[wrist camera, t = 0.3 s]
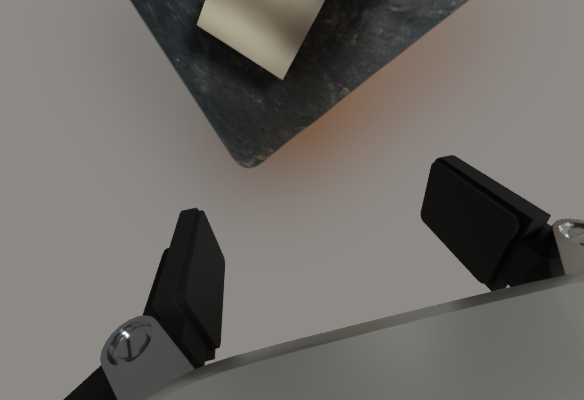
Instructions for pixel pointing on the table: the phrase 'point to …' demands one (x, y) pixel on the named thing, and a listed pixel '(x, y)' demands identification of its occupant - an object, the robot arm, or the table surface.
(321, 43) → the table surface
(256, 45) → the plinth
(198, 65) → the table surface
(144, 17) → the table surface
